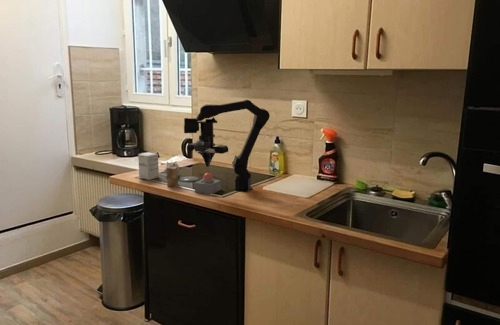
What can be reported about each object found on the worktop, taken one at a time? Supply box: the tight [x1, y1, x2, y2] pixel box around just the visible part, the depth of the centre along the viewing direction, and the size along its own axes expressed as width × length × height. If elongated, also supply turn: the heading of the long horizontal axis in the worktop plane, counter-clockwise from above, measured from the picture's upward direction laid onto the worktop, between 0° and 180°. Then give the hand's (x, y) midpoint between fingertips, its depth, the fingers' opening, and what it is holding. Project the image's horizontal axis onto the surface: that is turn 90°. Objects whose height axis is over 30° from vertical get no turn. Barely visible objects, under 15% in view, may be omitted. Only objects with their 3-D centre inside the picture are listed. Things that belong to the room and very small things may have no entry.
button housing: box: [193, 178, 222, 195], centre depth 191 cm, size 9×9×4 cm
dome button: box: [202, 172, 214, 183], centre depth 191 cm, size 4×4×6 cm
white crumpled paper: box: [163, 161, 183, 178], centre depth 217 cm, size 9×8×10 cm
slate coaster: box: [178, 175, 200, 183], centre depth 212 cm, size 10×10×1 cm
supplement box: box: [137, 151, 160, 181], centre depth 214 cm, size 7×7×13 cm
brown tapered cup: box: [166, 166, 179, 188], centre depth 199 cm, size 4×4×9 cm
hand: (207, 166), depth 189 cm, fingers closed
